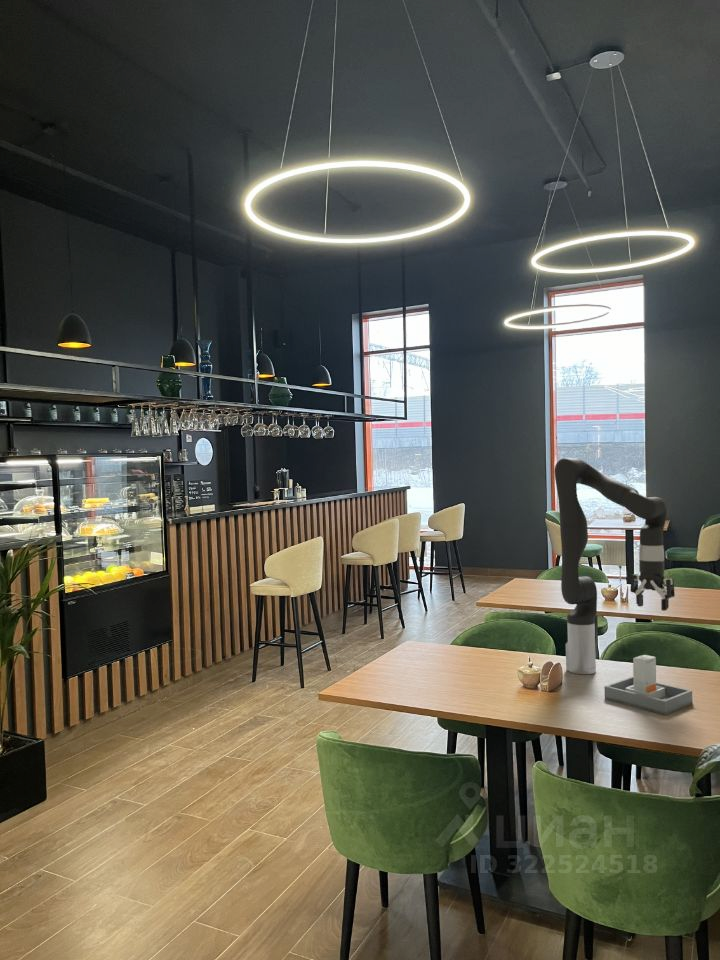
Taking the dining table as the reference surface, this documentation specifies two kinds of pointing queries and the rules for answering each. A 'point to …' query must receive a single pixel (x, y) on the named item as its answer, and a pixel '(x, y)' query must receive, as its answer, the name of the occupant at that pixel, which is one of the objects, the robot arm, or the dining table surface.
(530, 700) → the dining table surface
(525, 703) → the dining table surface
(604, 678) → the dining table surface
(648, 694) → the walled box
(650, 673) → the skincare box
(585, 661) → the robot arm
